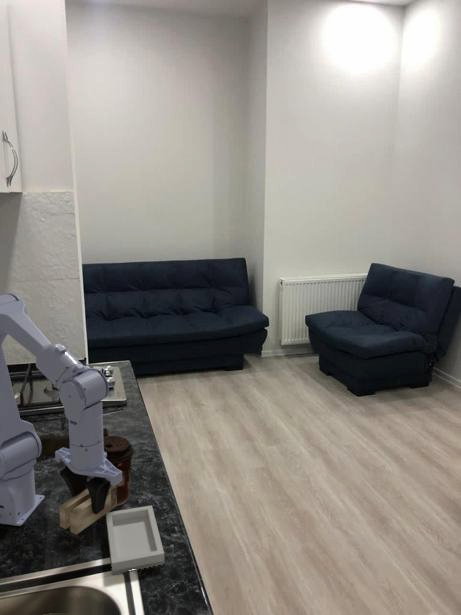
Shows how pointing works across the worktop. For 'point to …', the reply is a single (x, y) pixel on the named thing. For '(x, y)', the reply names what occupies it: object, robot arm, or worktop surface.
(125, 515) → the tray
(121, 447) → the coffee cup
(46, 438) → the hand tool
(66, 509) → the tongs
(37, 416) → the worktop surface
